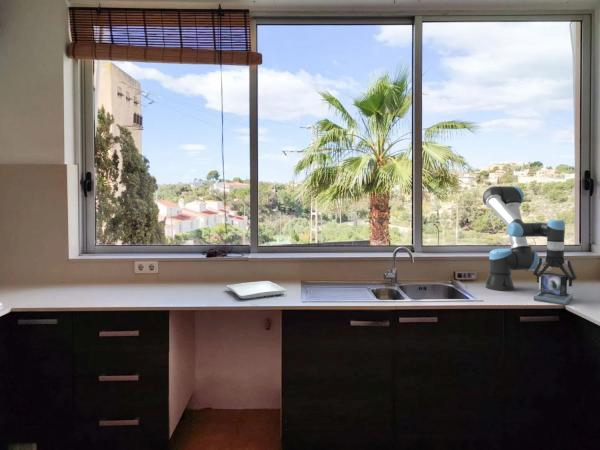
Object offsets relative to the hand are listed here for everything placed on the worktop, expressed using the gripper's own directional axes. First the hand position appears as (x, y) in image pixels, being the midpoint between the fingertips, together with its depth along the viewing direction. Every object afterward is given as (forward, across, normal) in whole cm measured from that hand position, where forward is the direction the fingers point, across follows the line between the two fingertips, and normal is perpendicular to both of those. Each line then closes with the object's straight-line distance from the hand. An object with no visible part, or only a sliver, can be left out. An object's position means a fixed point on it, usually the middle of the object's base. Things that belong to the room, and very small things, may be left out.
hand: (553, 290), depth 200 cm
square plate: (+5, -126, -99) cm, 160 cm away
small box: (+2, 0, 0) cm, 2 cm away
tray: (+5, 0, 0) cm, 5 cm away
